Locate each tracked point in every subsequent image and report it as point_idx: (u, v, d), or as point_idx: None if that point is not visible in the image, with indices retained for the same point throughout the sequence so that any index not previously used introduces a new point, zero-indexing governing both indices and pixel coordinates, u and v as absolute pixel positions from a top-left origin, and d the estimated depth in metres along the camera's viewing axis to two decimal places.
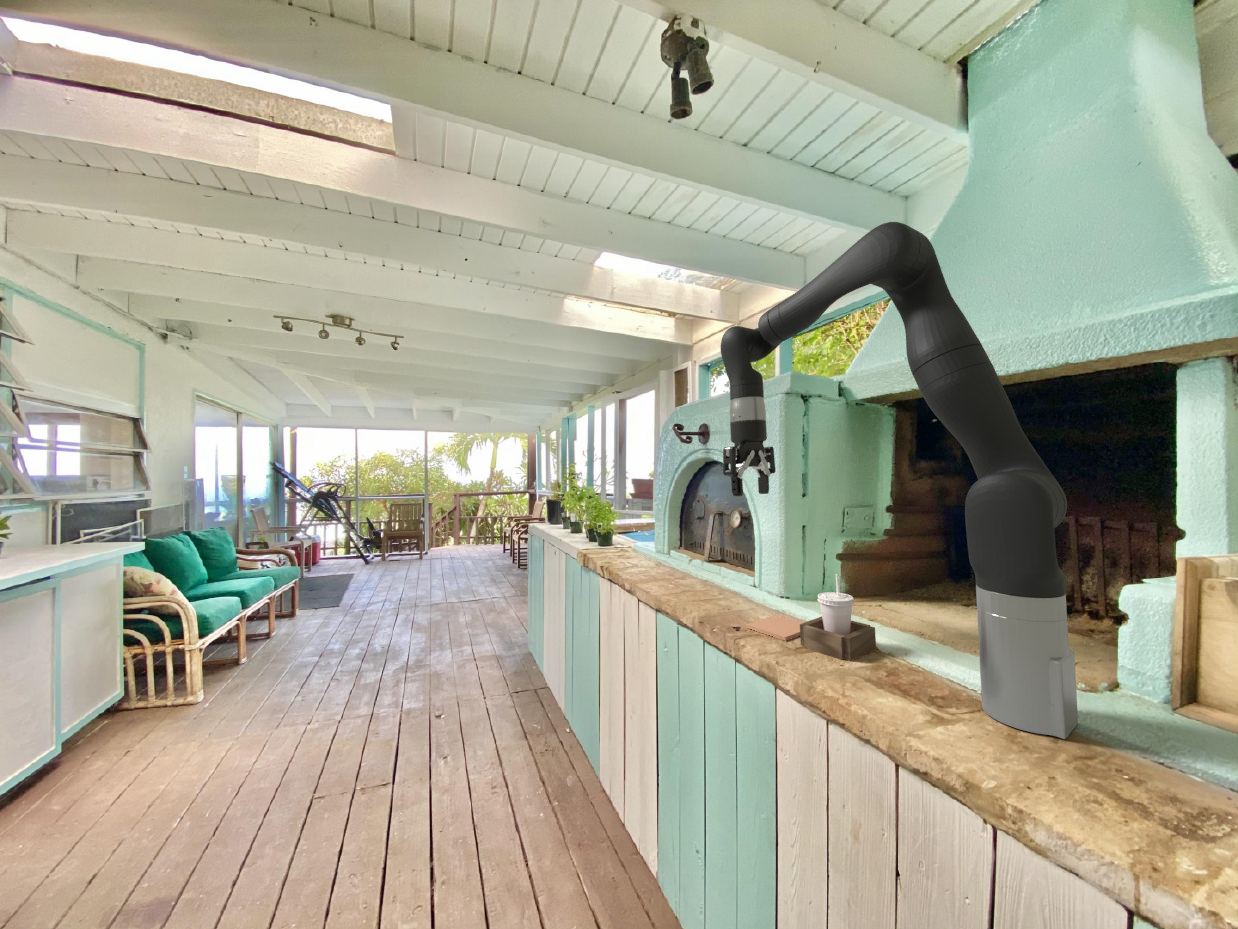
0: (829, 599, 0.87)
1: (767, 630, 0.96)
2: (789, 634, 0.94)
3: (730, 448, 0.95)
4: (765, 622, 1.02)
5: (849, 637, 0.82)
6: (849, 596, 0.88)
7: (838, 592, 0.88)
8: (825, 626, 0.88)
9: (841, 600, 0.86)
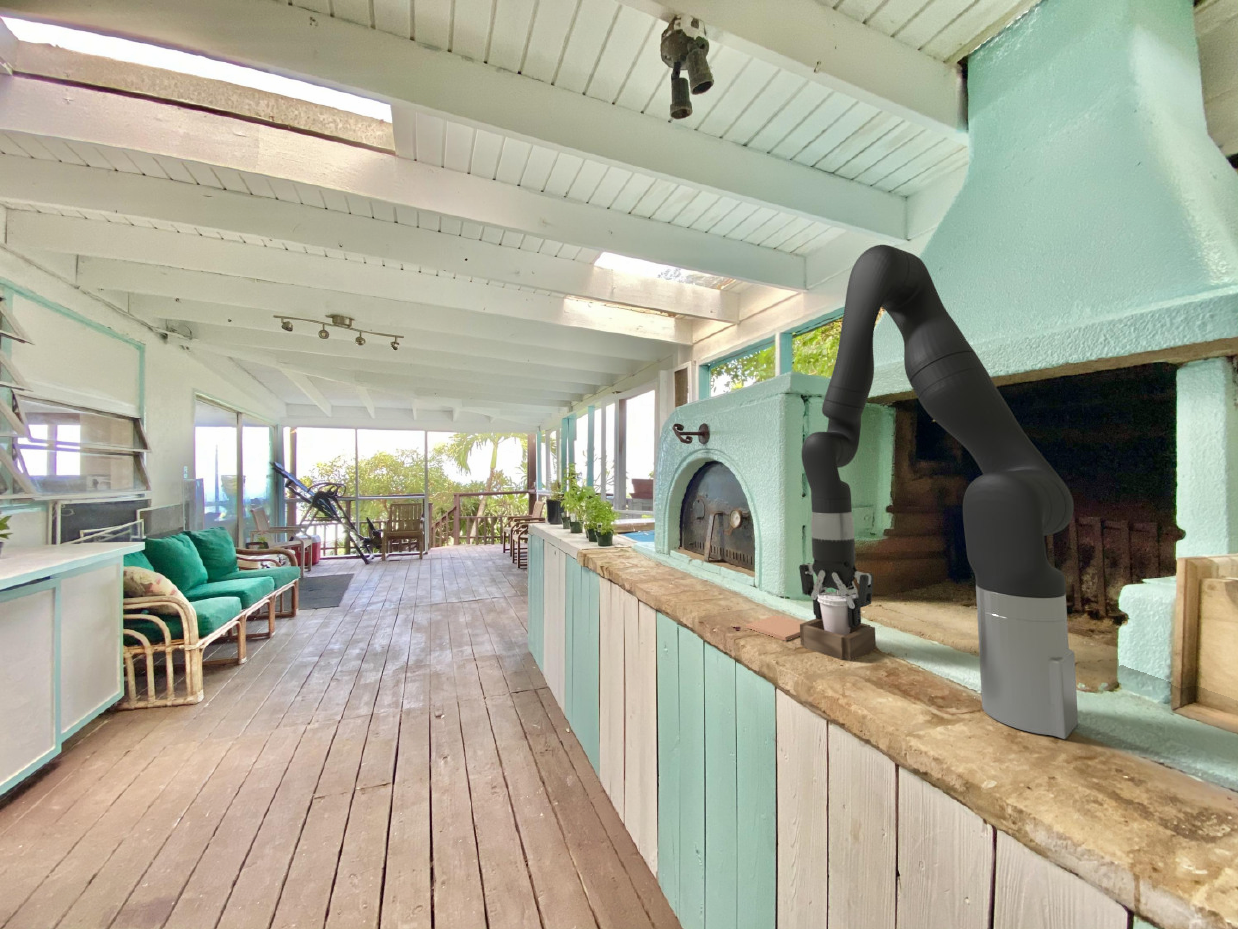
0: (829, 599, 0.87)
1: (767, 630, 0.96)
2: (789, 634, 0.94)
3: (871, 576, 0.84)
4: (765, 622, 1.02)
5: (849, 637, 0.82)
6: None
7: (838, 592, 0.88)
8: (825, 626, 0.88)
9: (841, 600, 0.86)
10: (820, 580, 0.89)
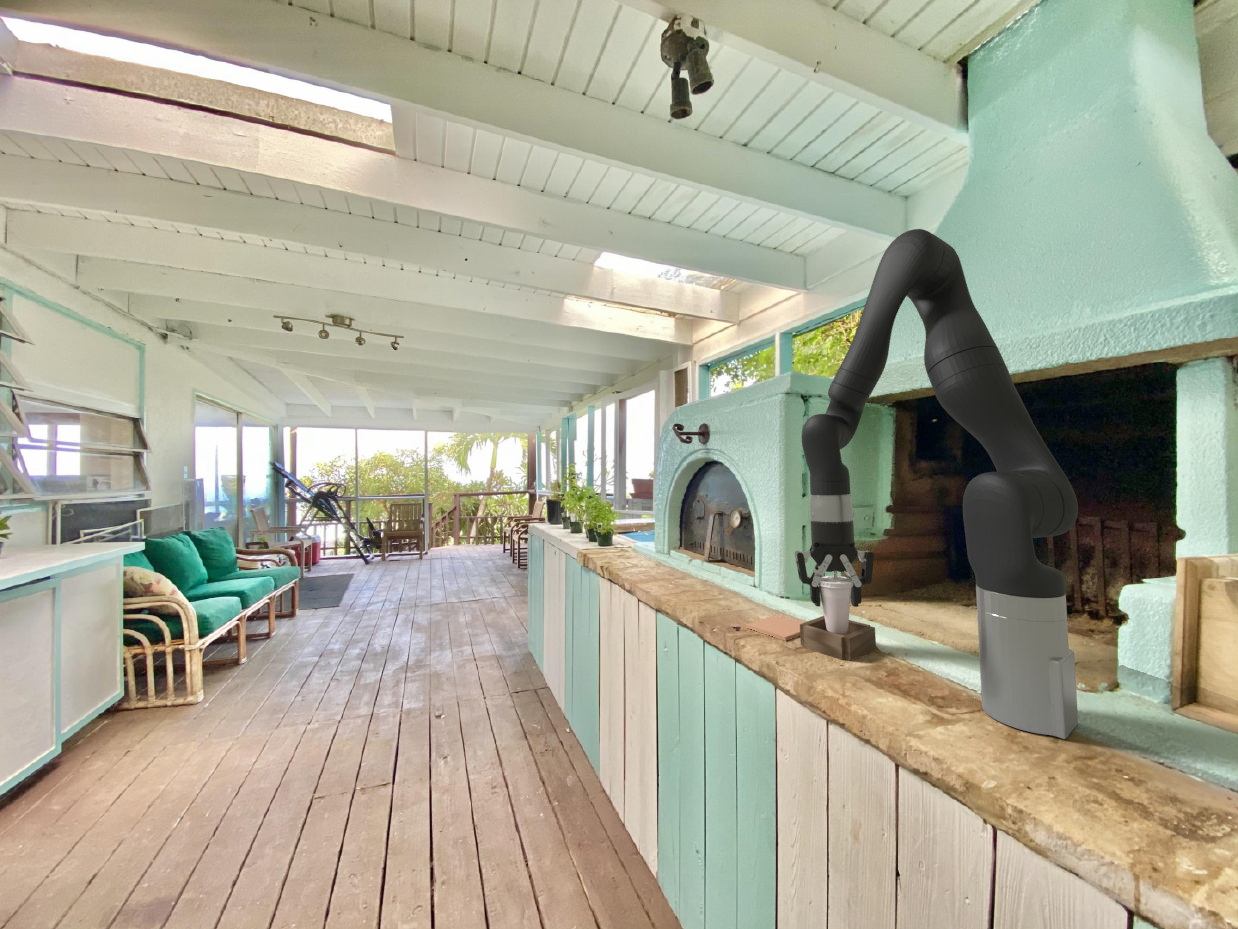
0: (840, 582, 0.86)
1: (767, 630, 0.96)
2: (789, 634, 0.94)
3: None
4: (765, 622, 1.02)
5: (849, 637, 0.82)
6: (840, 577, 0.90)
7: None
8: (833, 611, 0.87)
9: (848, 581, 0.87)
10: (825, 565, 0.87)
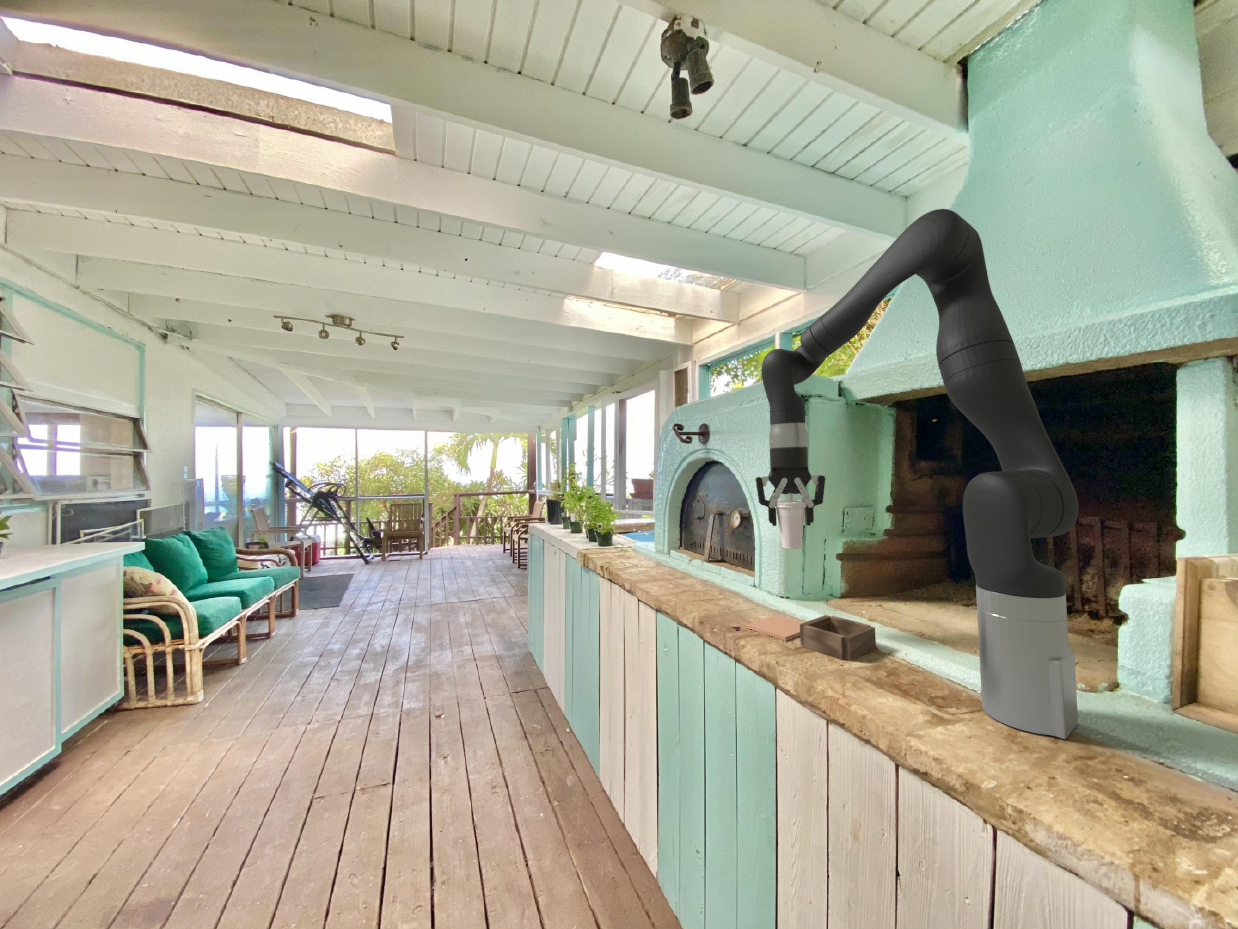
0: (793, 502, 0.95)
1: (767, 630, 0.96)
2: (789, 634, 0.94)
3: None
4: (765, 622, 1.02)
5: (849, 637, 0.82)
6: None
7: (792, 497, 0.97)
8: (787, 529, 0.95)
9: (801, 502, 0.95)
10: (781, 487, 0.96)
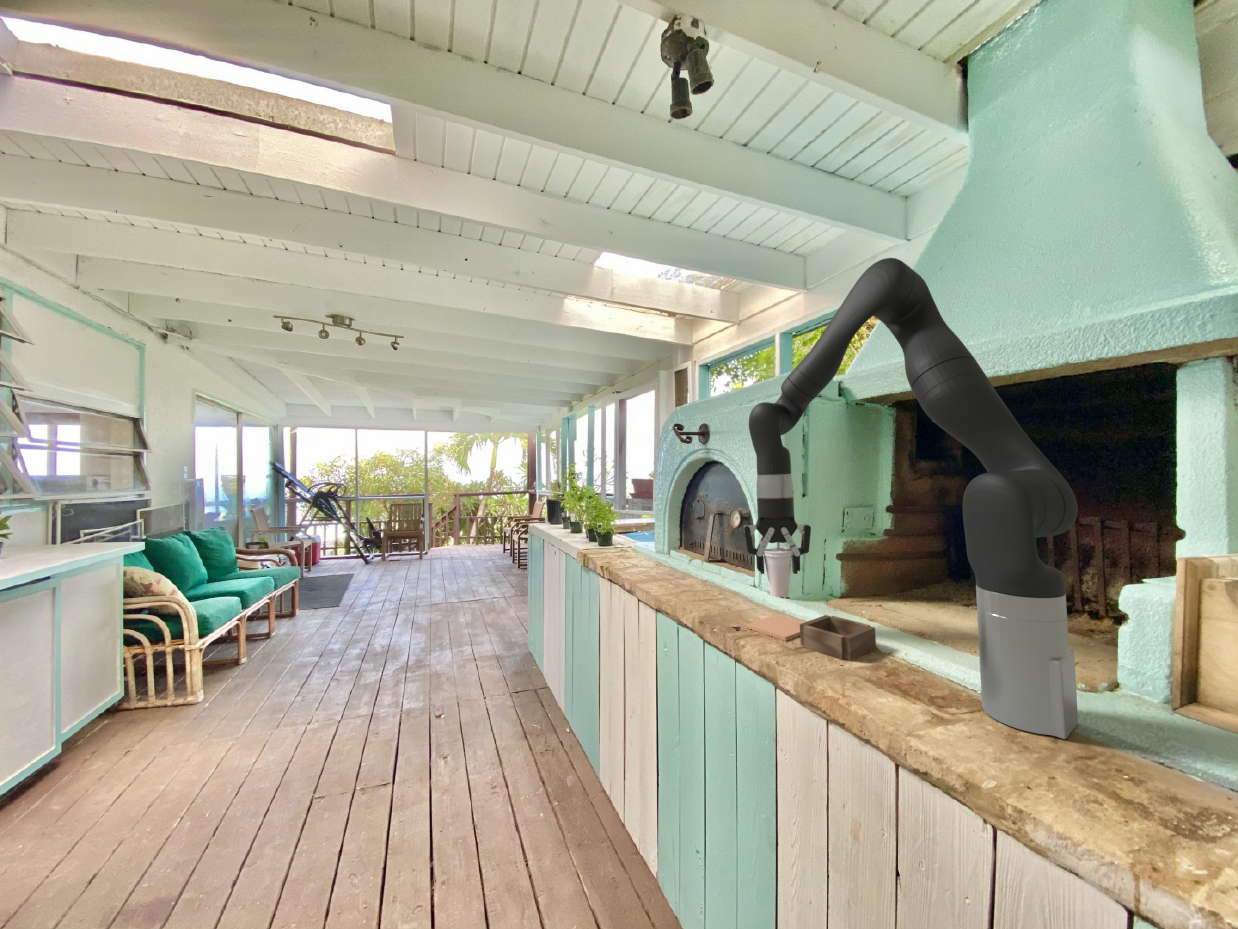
0: (780, 552, 0.97)
1: (767, 630, 0.96)
2: (789, 634, 0.94)
3: None
4: (765, 622, 1.02)
5: (849, 637, 0.82)
6: (783, 548, 1.01)
7: (779, 545, 1.00)
8: (774, 577, 0.98)
9: (788, 551, 0.98)
10: (768, 537, 0.98)
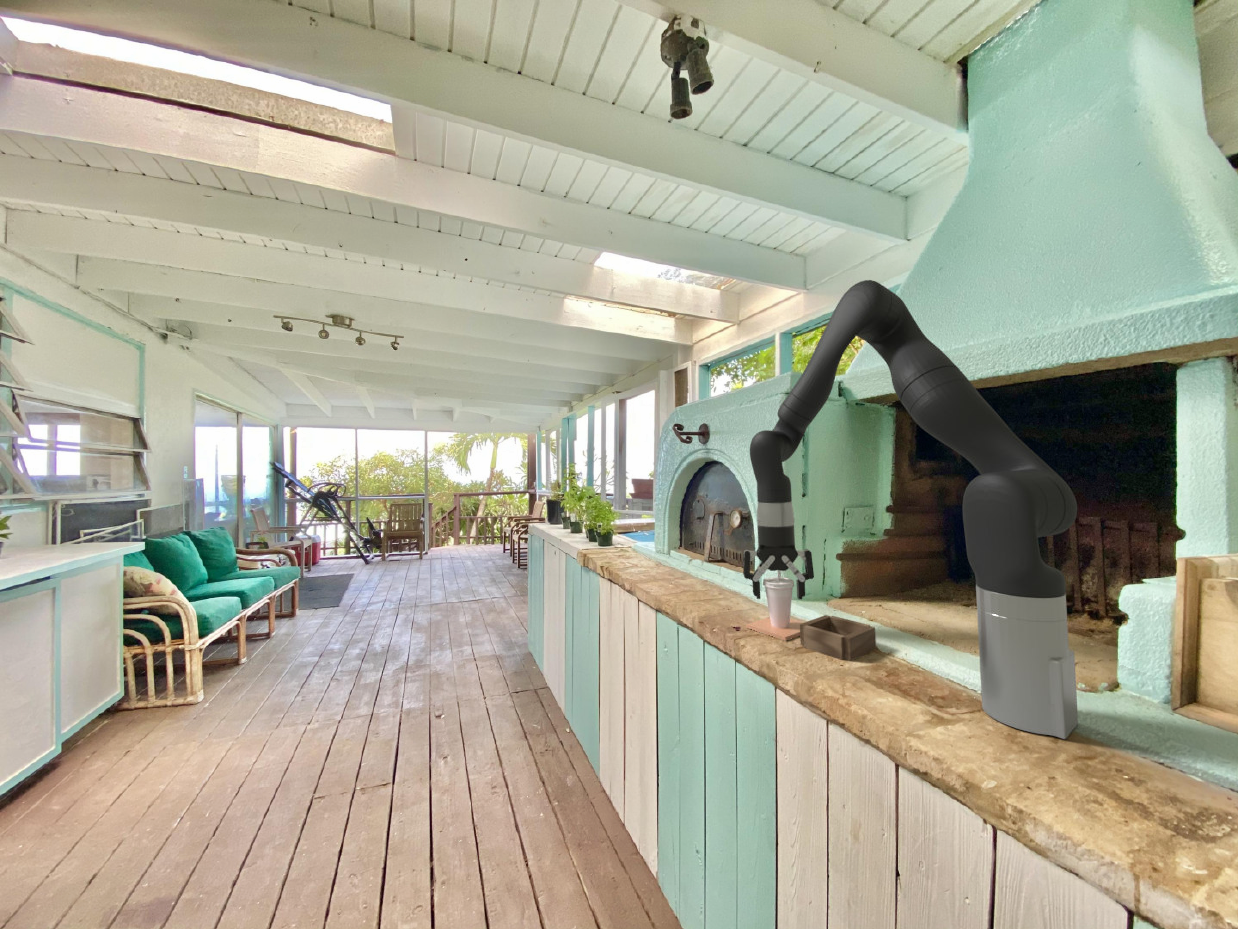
0: (781, 583, 0.97)
1: (767, 630, 0.96)
2: (789, 634, 0.94)
3: None
4: (765, 622, 1.02)
5: (849, 637, 0.82)
6: (784, 578, 1.01)
7: (780, 576, 1.00)
8: (775, 609, 0.97)
9: (789, 582, 0.98)
10: (767, 564, 0.98)
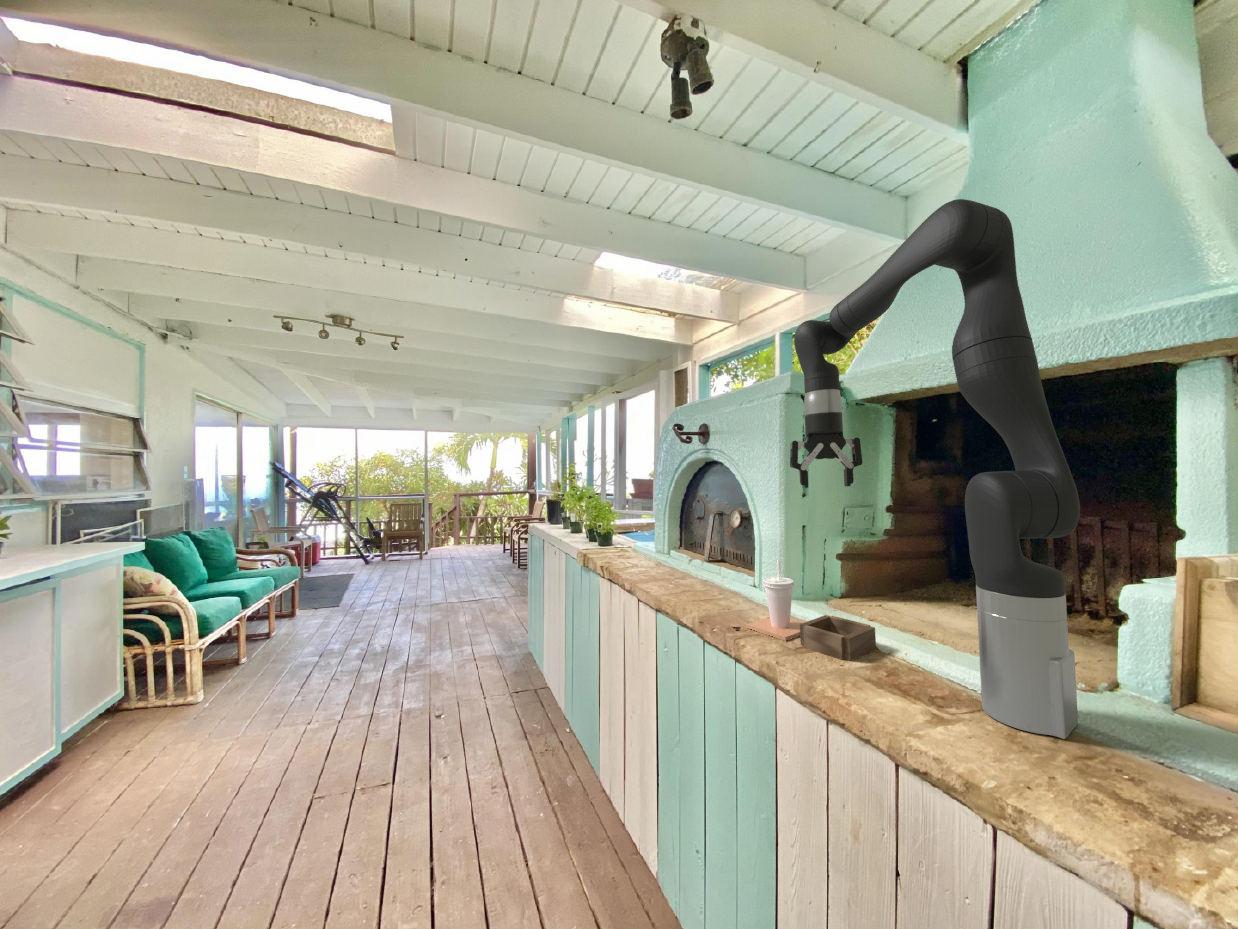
0: (781, 583, 0.97)
1: (767, 630, 0.96)
2: (789, 634, 0.94)
3: None
4: (765, 622, 1.02)
5: (849, 637, 0.82)
6: (784, 578, 1.01)
7: (780, 576, 1.00)
8: (775, 609, 0.98)
9: (789, 582, 0.98)
10: (816, 452, 0.99)
